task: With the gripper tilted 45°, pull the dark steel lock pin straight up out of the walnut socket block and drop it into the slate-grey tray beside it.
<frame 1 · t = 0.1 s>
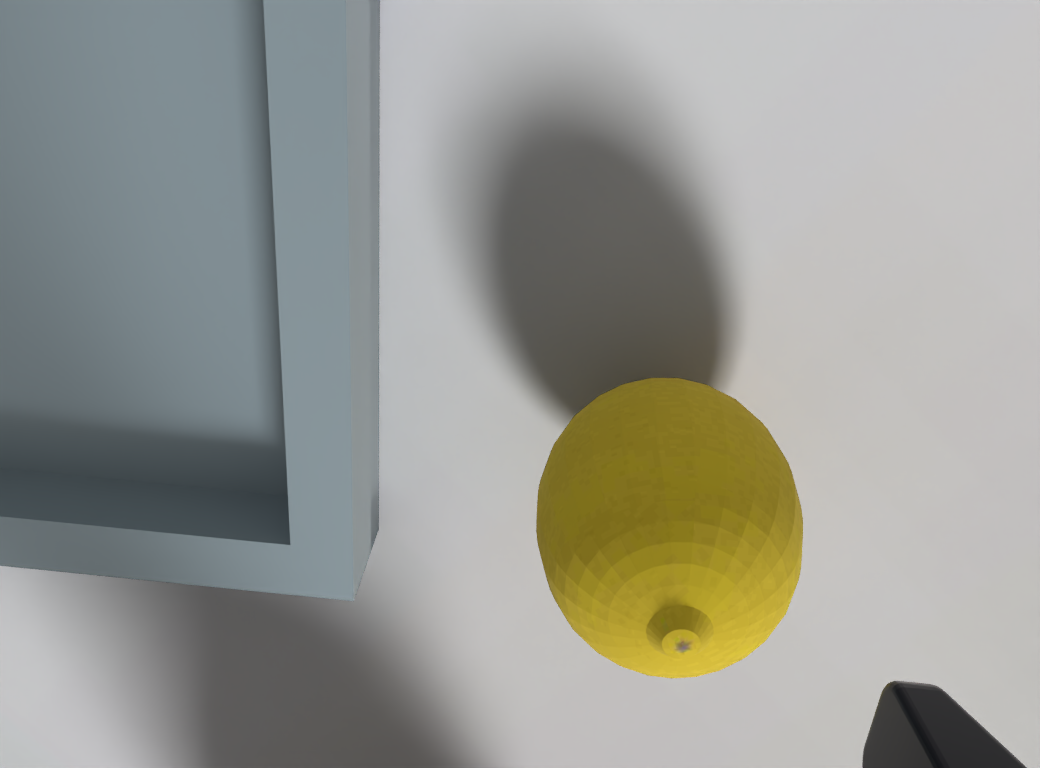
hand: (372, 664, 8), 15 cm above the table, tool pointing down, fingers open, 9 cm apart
lemon: (655, 421, 24), on the table
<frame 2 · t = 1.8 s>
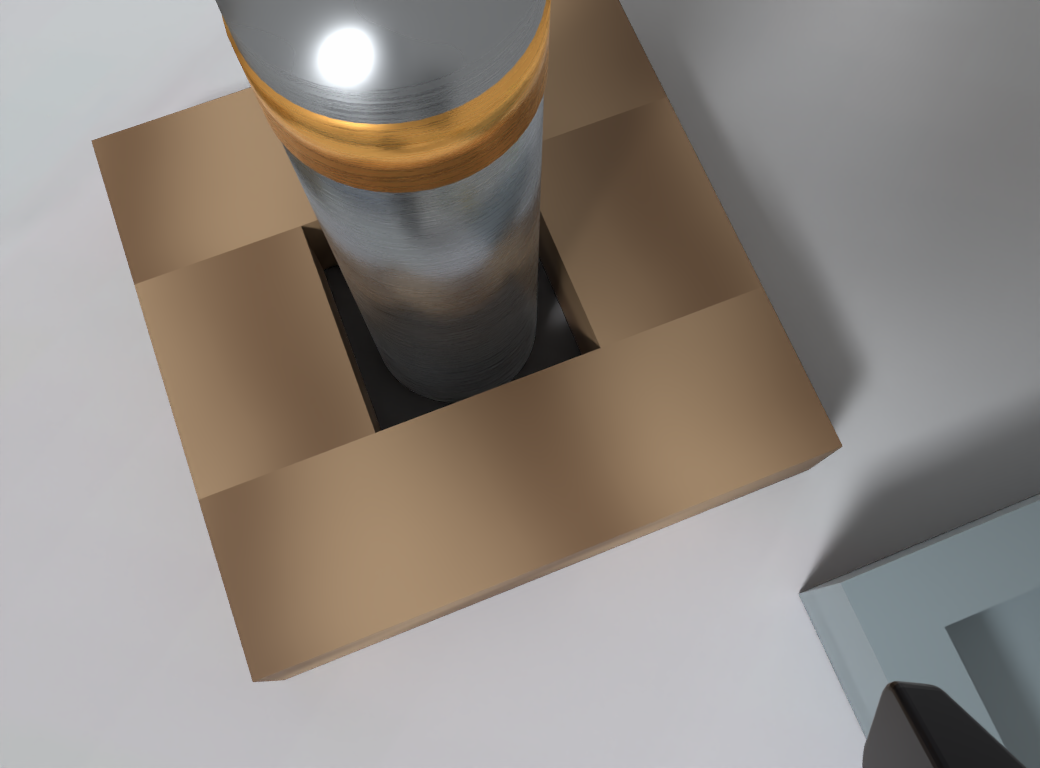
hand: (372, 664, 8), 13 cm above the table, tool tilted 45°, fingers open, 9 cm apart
socket block: (455, 324, 24), on the table
steel lock pin: (455, 324, 24), resting in socket block
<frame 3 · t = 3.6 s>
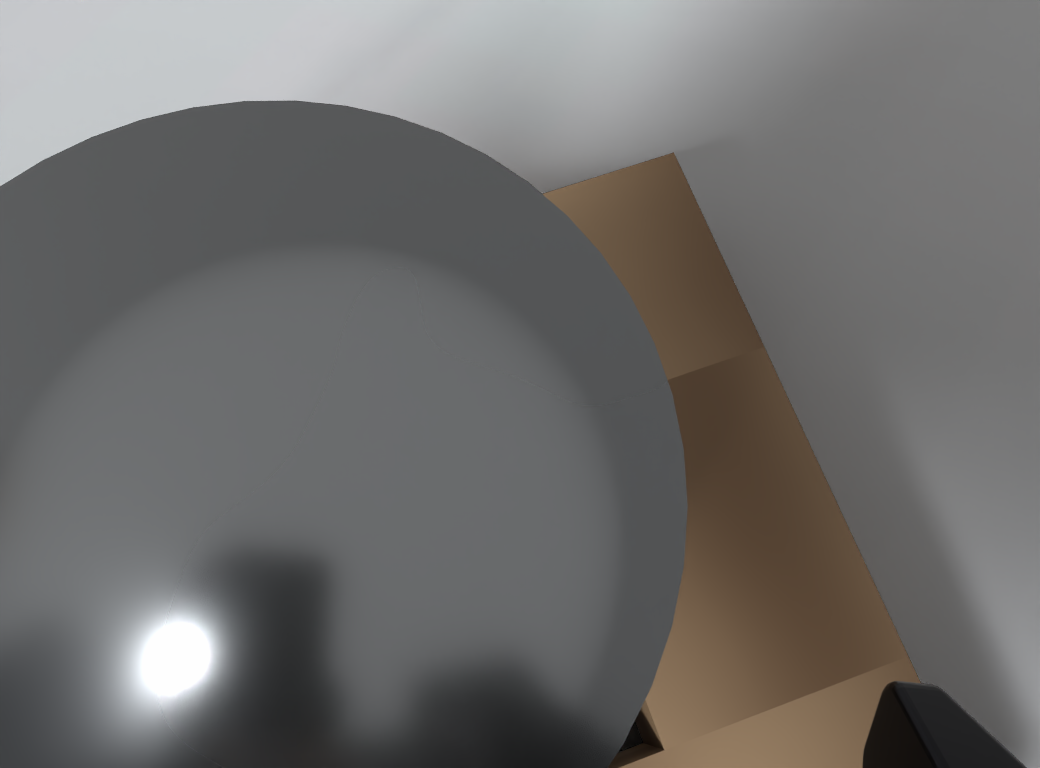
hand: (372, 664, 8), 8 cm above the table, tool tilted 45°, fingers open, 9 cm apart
socket block: (449, 645, 17), on the table
steel lock pin: (449, 645, 17), resting in socket block
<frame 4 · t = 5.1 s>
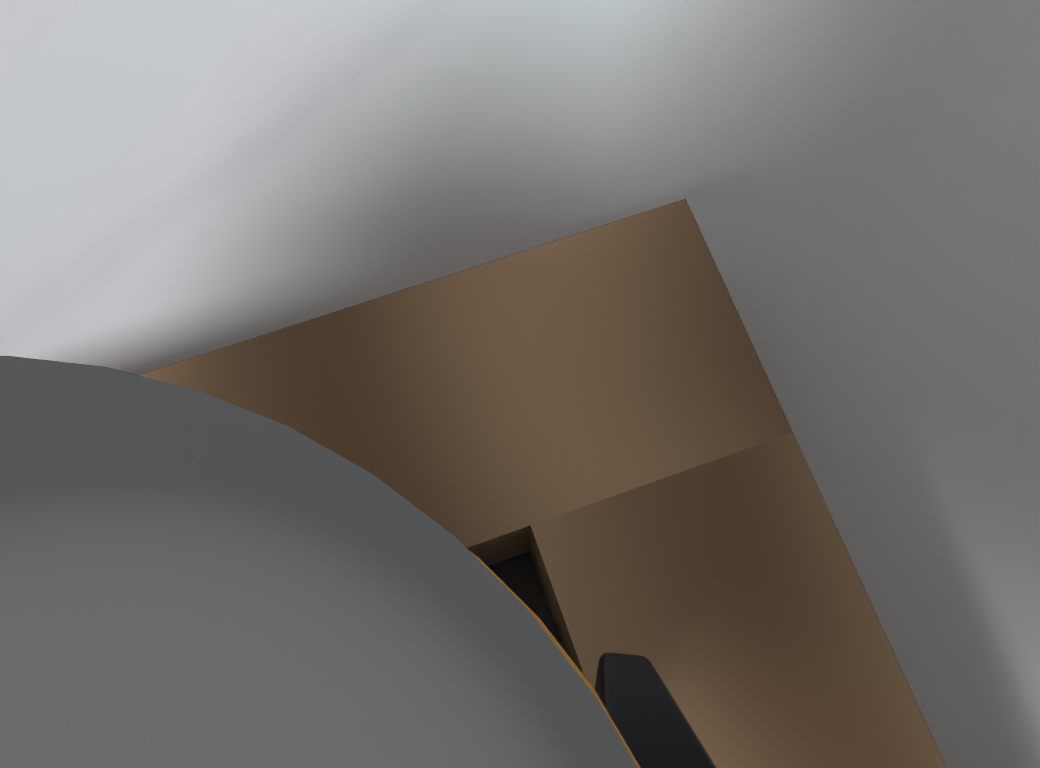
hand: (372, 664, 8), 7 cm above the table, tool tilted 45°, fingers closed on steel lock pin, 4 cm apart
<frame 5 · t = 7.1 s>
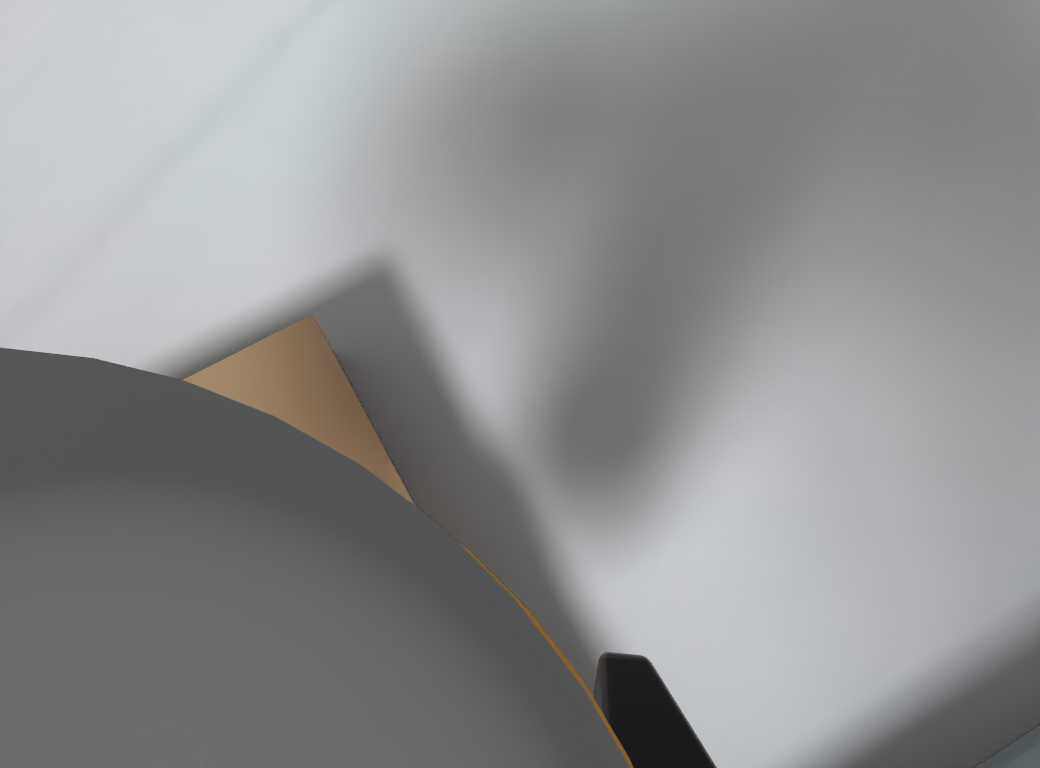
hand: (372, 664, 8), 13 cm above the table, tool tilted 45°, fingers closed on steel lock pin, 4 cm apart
socket block: (197, 730, 21), on the table
when the fingers open (9 cm above the table, at t = 9.4 s): steel lock pin drops 2 cm, resting on slate tray.
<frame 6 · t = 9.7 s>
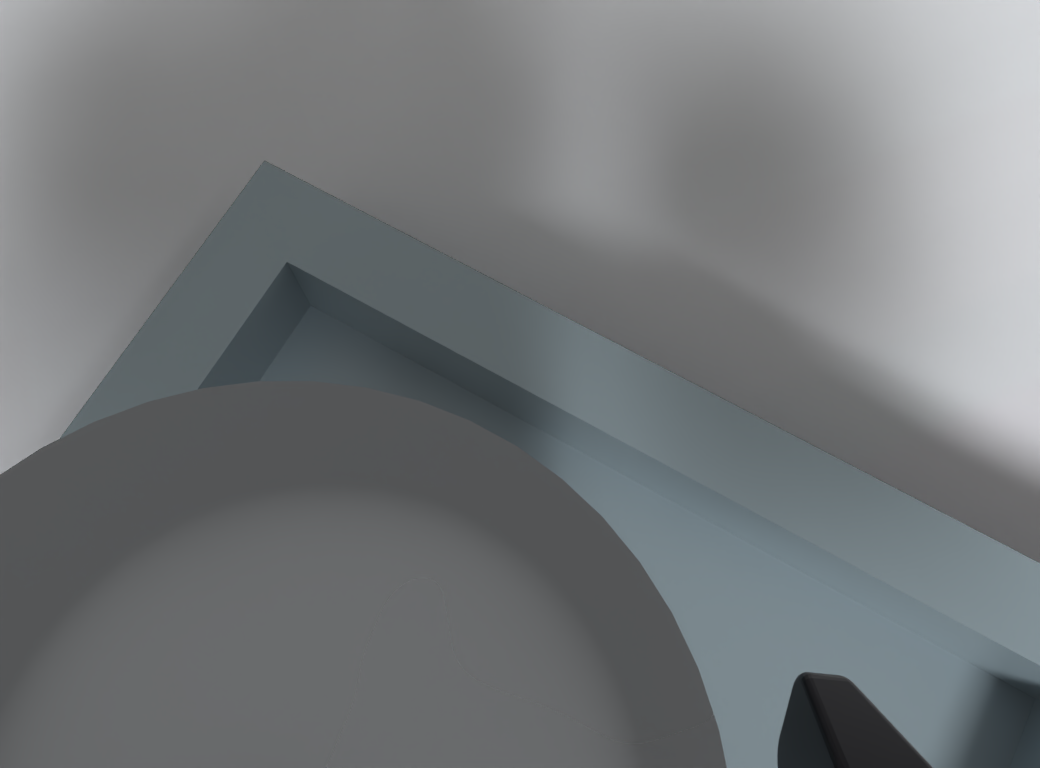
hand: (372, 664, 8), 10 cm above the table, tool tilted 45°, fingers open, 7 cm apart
steel lock pin: (434, 765, 16), point 1 cm above the table, touching slate tray
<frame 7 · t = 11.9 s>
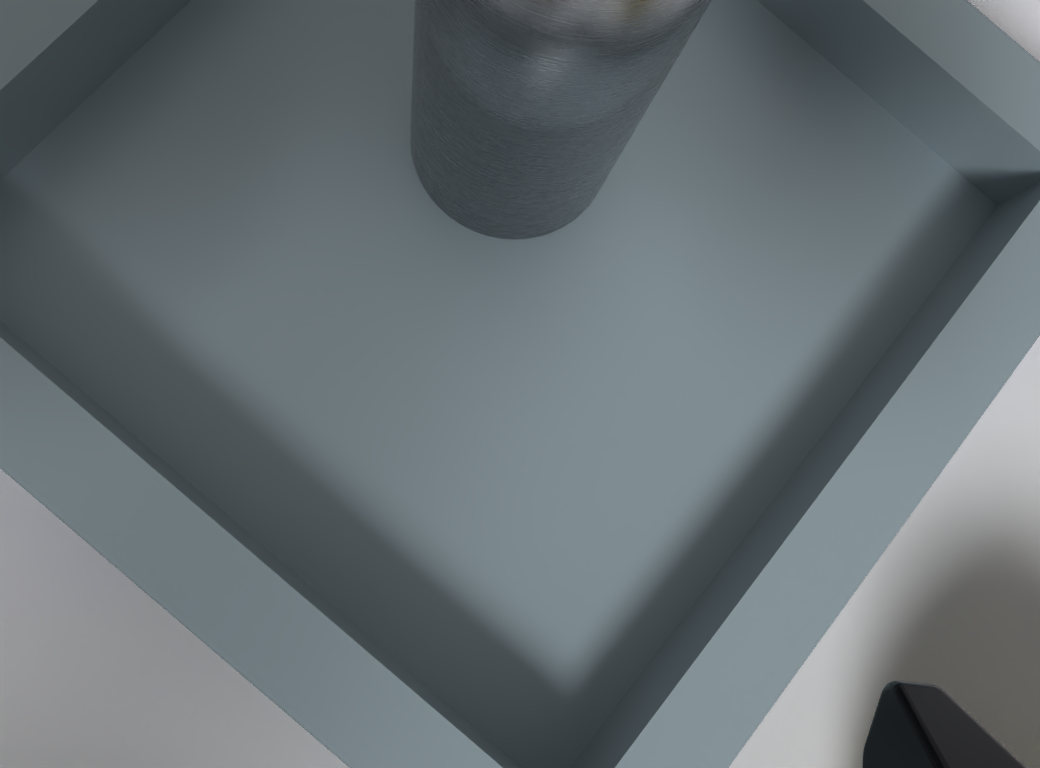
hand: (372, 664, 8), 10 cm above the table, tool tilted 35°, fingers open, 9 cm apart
slate tray: (496, 242, 20), on the table
steel lock pin: (511, 142, 19), point 1 cm above the table, touching slate tray
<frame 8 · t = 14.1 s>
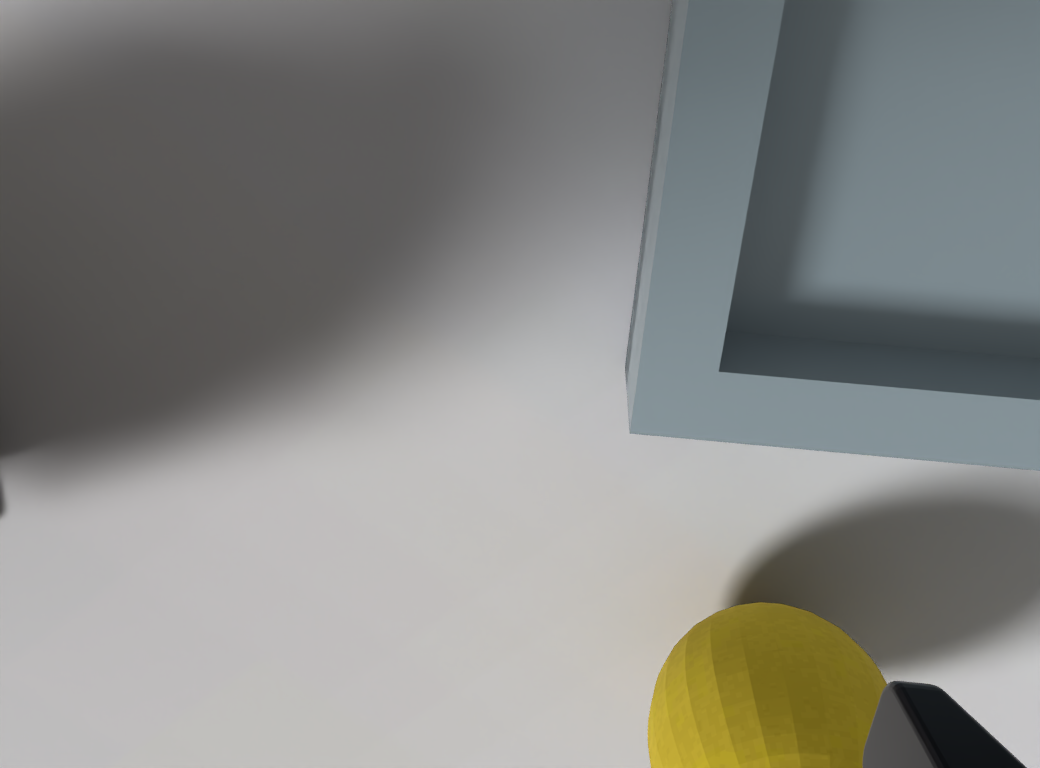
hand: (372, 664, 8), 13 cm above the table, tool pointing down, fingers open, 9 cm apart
lemon: (748, 620, 25), on the table
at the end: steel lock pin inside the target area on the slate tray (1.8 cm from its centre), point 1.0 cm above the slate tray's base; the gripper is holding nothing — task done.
